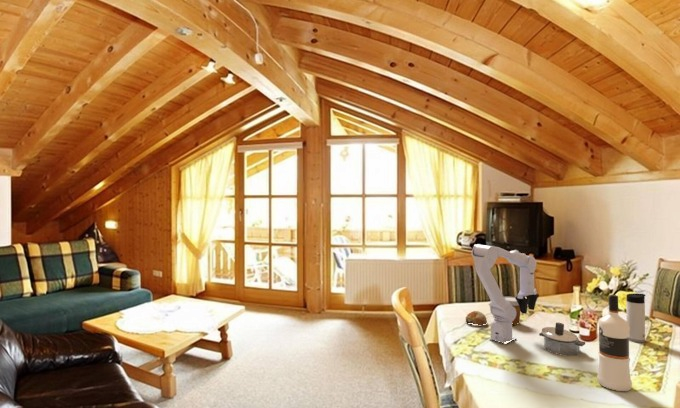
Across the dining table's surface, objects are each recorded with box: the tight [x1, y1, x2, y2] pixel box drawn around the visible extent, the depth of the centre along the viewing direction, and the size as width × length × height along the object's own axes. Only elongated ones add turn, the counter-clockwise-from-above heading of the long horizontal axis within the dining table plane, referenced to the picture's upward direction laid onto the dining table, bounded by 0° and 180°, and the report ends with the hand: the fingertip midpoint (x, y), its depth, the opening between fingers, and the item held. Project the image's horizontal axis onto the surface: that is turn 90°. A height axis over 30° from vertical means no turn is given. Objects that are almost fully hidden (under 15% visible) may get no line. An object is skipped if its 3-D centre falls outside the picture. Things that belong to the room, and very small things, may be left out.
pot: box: [538, 331, 586, 357], centre depth 154 cm, size 12×16×5 cm
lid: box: [541, 322, 578, 342], centre depth 154 cm, size 13×13×6 cm
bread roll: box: [465, 310, 488, 325], centre depth 187 cm, size 10×10×8 cm
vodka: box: [596, 294, 633, 392], centre depth 124 cm, size 9×9×30 cm
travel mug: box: [625, 292, 646, 344], centre depth 162 cm, size 6×7×20 cm
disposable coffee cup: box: [503, 296, 521, 324], centre depth 187 cm, size 10×10×12 cm
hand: (527, 311), depth 171 cm, fingers open, 7 cm apart
